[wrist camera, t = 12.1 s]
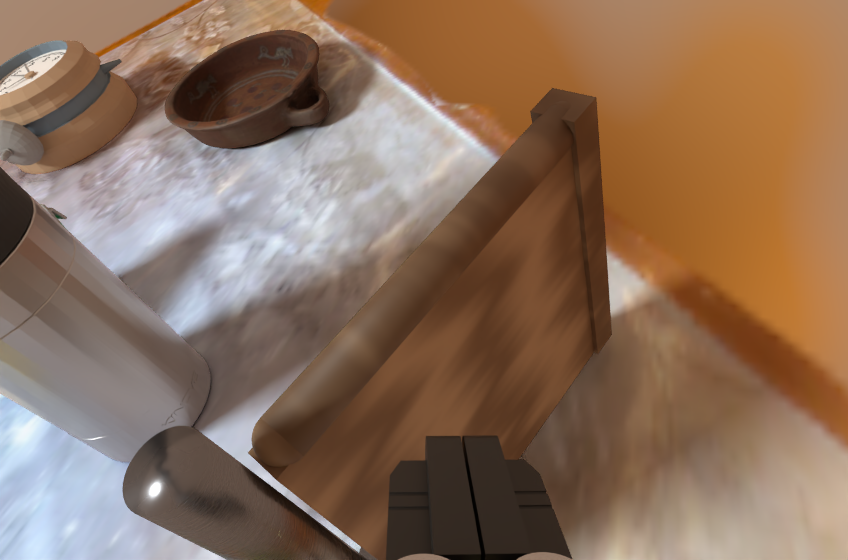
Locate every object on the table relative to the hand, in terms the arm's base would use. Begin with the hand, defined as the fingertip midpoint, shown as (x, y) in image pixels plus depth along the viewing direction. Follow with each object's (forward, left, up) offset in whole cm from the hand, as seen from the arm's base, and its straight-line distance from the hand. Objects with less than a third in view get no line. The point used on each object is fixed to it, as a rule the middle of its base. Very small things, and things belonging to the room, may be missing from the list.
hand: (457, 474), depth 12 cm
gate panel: (-4, +8, -20) cm, 22 cm away
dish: (-41, +42, -21) cm, 62 cm away
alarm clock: (-70, +37, -21) cm, 82 cm away
